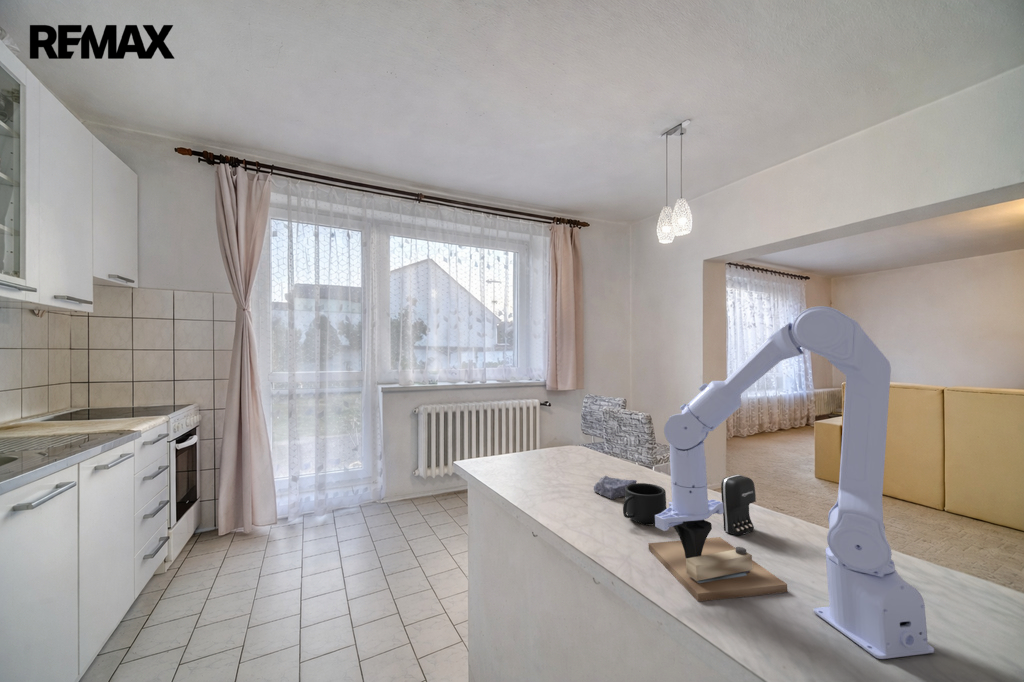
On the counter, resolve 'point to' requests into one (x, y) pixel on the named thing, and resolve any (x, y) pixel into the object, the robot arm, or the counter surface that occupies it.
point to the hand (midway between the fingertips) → (692, 563)
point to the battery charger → (737, 504)
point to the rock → (612, 487)
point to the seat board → (716, 587)
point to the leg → (719, 564)
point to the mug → (644, 502)
